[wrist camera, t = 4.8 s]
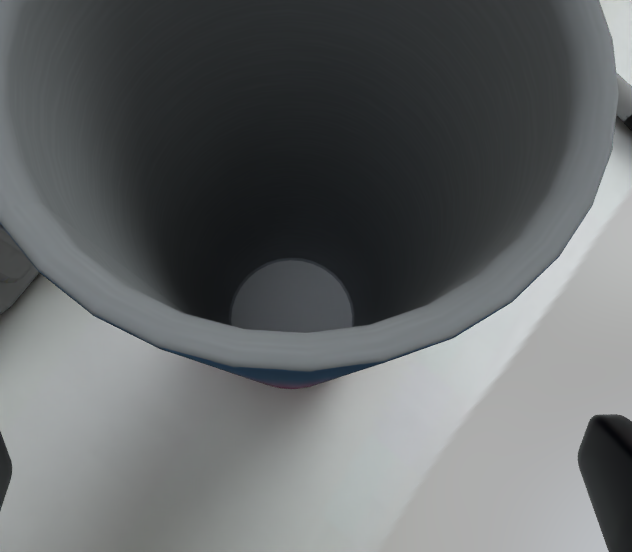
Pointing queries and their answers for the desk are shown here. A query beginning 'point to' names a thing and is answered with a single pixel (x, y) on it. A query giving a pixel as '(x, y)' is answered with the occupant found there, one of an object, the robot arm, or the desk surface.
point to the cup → (300, 166)
